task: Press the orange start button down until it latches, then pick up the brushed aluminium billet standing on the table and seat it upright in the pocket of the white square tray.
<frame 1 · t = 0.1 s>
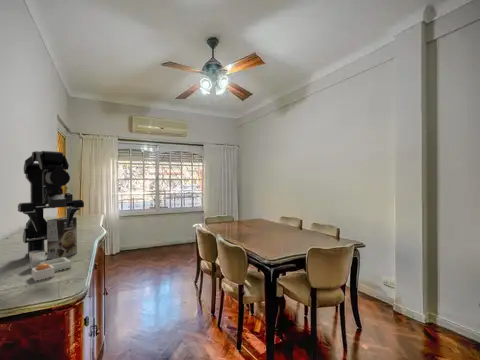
hand: (53, 229, 94), 15 cm above the sideboard, tool pointing down, fingers open, 9 cm apart
button housing: (43, 276, 87), on the sideboard
coffee box: (62, 256, 111), on the sideboard
white square tray: (55, 268, 96), on the sideboard
billet: (37, 267, 97), on the sideboard
start button: (43, 267, 87), point 3 cm above the sideboard, slide at 0.0 cm
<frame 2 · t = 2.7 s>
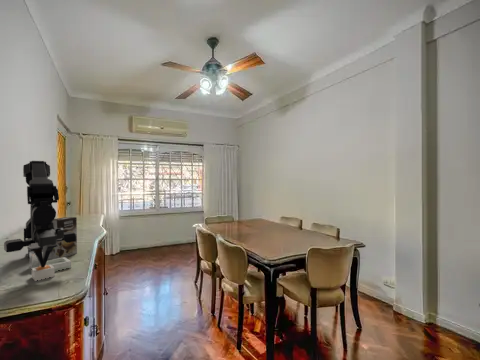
hand: (43, 266, 87), 3 cm above the sideboard, tool pointing down, fingers closed, pressing on start button
start button: (43, 269, 87), point 2 cm above the sideboard, slide at 0.6 cm, touching gripper
everything else where it was.
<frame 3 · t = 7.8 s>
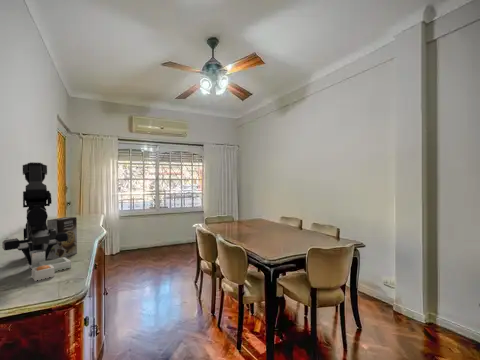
hand: (37, 263, 97), 1 cm above the sideboard, tool pointing down, fingers closed on billet, 4 cm apart
billet: (37, 267, 97), on the sideboard, touching gripper
start button: (43, 269, 87), point 2 cm above the sideboard, slide at 0.6 cm
everything else where it was.
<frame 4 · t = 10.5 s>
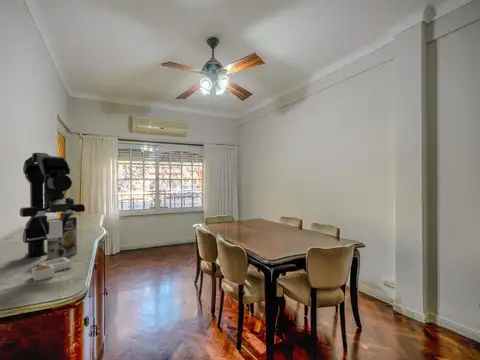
hand: (54, 233, 95), 13 cm above the sideboard, tool pointing down, fingers closed on billet, 4 cm apart
billet: (54, 237, 95), point 11 cm above the sideboard, touching gripper
everything else where it was.
when the fingers open (3 cm above the sideboard, at t = 13.0 s): billet stays where it is, resting on white square tray.
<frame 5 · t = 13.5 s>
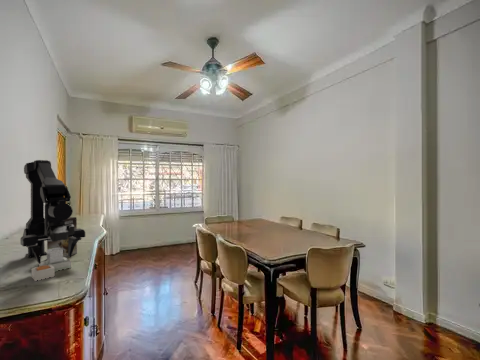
hand: (55, 260, 96), 3 cm above the sideboard, tool pointing down, fingers open, 9 cm apart
billet: (55, 265, 96), point 1 cm above the sideboard, touching white square tray
everything else where it was.
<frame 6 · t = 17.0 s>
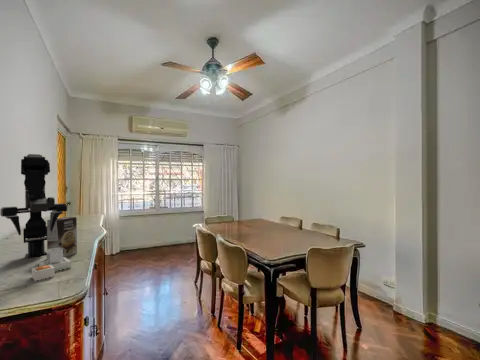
hand: (35, 233, 96), 13 cm above the sideboard, tool pointing down, fingers open, 9 cm apart
nothing on the sideboard moved.
at the end: billet 0.0 cm off-centre on the white square tray, point 1.0 cm above the white square tray's base; billet tilted 0°; start button slide at 0.6 cm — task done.
